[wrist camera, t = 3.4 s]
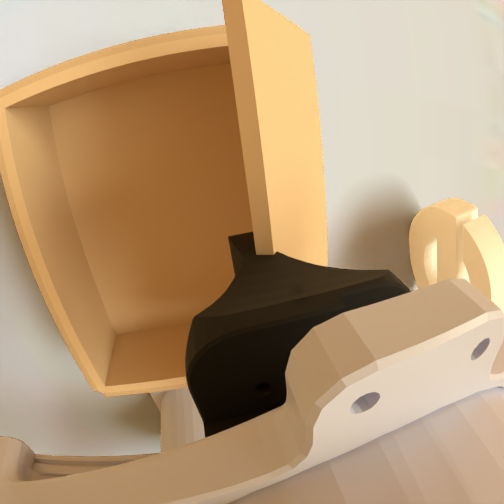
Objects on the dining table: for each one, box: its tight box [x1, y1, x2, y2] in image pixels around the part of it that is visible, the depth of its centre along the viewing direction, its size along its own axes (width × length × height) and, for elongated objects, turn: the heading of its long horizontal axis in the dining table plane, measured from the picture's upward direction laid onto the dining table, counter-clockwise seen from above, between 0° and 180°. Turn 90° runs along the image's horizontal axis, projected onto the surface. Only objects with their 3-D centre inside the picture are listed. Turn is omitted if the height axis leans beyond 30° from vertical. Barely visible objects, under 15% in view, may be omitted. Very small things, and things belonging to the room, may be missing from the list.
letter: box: [409, 198, 504, 313], centre depth 23 cm, size 22×2×10 cm, turn 18°
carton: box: [0, 25, 253, 397], centre depth 17 cm, size 19×14×6 cm
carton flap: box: [222, 0, 328, 267], centre depth 12 cm, size 17×7×1 cm
